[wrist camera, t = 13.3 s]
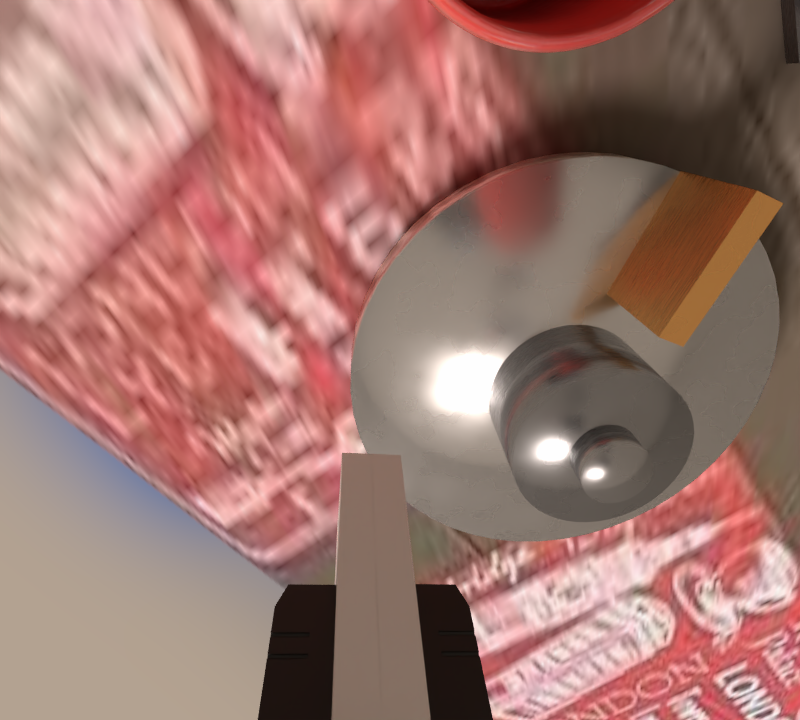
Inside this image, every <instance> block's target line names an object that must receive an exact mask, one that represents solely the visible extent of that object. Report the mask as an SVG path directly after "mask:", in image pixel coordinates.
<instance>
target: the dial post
mask: <svg viewBox="0 0 800 720" xmlns="http://www.w3.org/2000/svg"><path fill="white" fill-rule="evenodd" d="M781 8H782V19H783V30H784V42H785V53H786V63H800V0H781Z"/></svg>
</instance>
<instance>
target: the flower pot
mask: <svg viewBox="0 0 800 720" xmlns="http://www.w3.org/2000/svg"><path fill="white" fill-rule="evenodd" d="M673 1H675V0H428V2H429V3H430V4H431V5H432V6H433V7H435V8H436V9H437V10H438V11H439V12H440V13H441V14H442V15H444V16H445V17H446V18H447V19H449V20H450V21H451V22H453V23H454V24H456V25H457V26H459V27H460V28H462V29H463V30H465V31H467V32H469V33H471V34H472V35H474V36H476V37H478V38H481V39H483V40H485V41H487V42H490V43H492V44H496V45H499V46H502V47H505V48H509V49H513V50H519V51H525V52H537V53H550V52H563V51H569V50H575V49H580V48H584V47H588V46H592V45H595V44H598V43H601V42H603V41H606V40H609V39H612V38H614V37H617V36H619V35H621V34H623V33H625V32H627V31H629V30H631V29H632V28H634V27H636V26H638V25H640V24H641V23H643V22H645V21H646V20H648V19H649V18H651V17H652V16H654V15H655V14H657V13H659V12H660V11H661V10H663V9H664V8H665V7H667V6H668V5H669V4H671V3H672V2H673Z"/></svg>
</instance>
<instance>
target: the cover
mask: <svg viewBox="0 0 800 720" xmlns="http://www.w3.org/2000/svg"><path fill="white" fill-rule="evenodd" d="M489 412H490V416H491V420H492V423H493V425H494V428H495V430H496V433H497V435H498V438H499V440H500V443H501V446H502V448H503V451H504V453H505V456H506V458H507V461H508V463H509V466H510V468H511V471H512V473H513V476H514V478H515V481H516V483H517V486H518V488H519V490H520V492H521V493H522V495H523V496H524V497H525V499H526V500H527V501H528V502H529V503H530V504H531V505H532V506H534V507H535V508H536V509H538V510H539V511H541V512H543V513H545V514H547V515H549V516H551V517H554V518H557V519H561V520H565V521H572V522H596V521H602V520H608V519H612V518H615V517H619V516H622V515H625V514H627V513H630V512H632V511H634V510H636V509H638V508H640V507H642V506H644V505H645V504H647V503H649V502H650V501H652V500H653V499H654V498H656V497H657V496H658V495H660V494H661V493H662V492H663V491H664V490H665V489H666V488H668V487H669V485H670V484H671V483H672V482H673V481H674V480H675V479H676V477H677V476H678V475H679V473H680V472H681V470H682V469H683V467H684V465H685V463H686V462H687V460H688V457H689V455H690V452H691V449H692V445H693V439H694V422H693V418H692V414H691V412H690V409H689V407H688V405H687V403H686V402H685V400H684V399H683V398H682V396H681V395H680V394H679V393H678V392H677V391H676V390H675V389H674V388H673V387H672V386H671V385H669V384H668V383H667V382H666V381H665V380H664V379H663V378H662V377H661V376H660V375H659V374H658V373H657V372H656V371H655V370H654V369H653V368H652V367H651V366H650V365H649V364H648V363H646V362H645V361H644V360H643V359H642V358H641V357H640V356H639V355H638V354H637V353H636V352H635V351H634V350H633V349H632V348H631V347H630V346H629V345H628V344H627V343H626V342H624V341H623V340H622V339H621V338H620V337H618V336H617V335H615V334H614V333H612V332H610V331H608V330H605V329H602V328H599V327H595V326H589V325H566V326H561V327H556V328H553V329H550V330H546V331H544V332H542V333H539V334H537V335H535V336H533V337H532V338H530V339H528V340H527V341H525V342H524V343H522V344H521V345H520V346H518V347H517V348H516V349H515V350H514V351H513V352H512V353H511V354H510V355H509V356H508V357H507V358H506V360H505V361H504V362H503V363H502V365H501V366H500V368H499V369H498V371H497V373H496V375H495V377H494V379H493V382H492V385H491V389H490V394H489Z"/></svg>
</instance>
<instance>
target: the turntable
mask: <svg viewBox="0 0 800 720" xmlns="http://www.w3.org/2000/svg"><path fill="white" fill-rule="evenodd" d="M782 205H783V203H781V202H779V201H777V200H775V199H773V198H771V197H769V196H767V195H765V194H763V193H761V192H759V191H757V190H753V189H750V188H746V187H742V186H738V185H734V184H730V183H726V182H722V181H718V180H714V179H710V178H706V177H703V176H699V175H695V174H691V173H687V172H683V171H680V172H679V171H677V170H674V169H672V168H669V167H667V166H664V165H660V164H656V163H652V162H648V161H644V160H640V159H635V158H631V157H626V156H622V155H617V154H610V153H595V152H573V153H561V154H550V155H546V156H541V157H537V158H532V159H528V160H523V161H519V162H517V163H514V164H511V165H508V166H506V167H503V168H500V169H497V170H494V171H492V172H489V173H487V174H486V175H484V176H482V177H480V178H478V179H476V180H474V181H472V182H470V183H468V184H466V185H464V186H462V187H461V188H459V189H458V190H456V191H455V192H453V193H452V194H450V195H449V196H448V197H446V198H445V199H443V200H442V201H440V202H439V203H437V204H436V205H435V206H434V207H433V208H431V209H430V210H429V211H428V212H427V213H426V214H425V215H424V216H422V217H421V218H420V219H419V220H418V221H417V222H416V223H415V224H413V225H412V227H411V228H410V229H409V230H408V231H407V232H406V233H405V235H404V236H403V237H402V238H401V239H400V240H399V242H398V243H397V244H396V245H395V246H394V247H393V248H392V250H391V251H390V253H389V255H388V256H387V258H386V259H385V261H384V262H383V264H382V265H381V267H380V268H379V270H378V271H377V273H376V275H375V277H374V279H373V281H372V283H371V285H370V287H369V289H368V291H367V293H366V295H365V297H364V300H363V304H362V307H361V310H360V313H359V316H358V319H357V322H356V327H355V333H354V338H353V344H352V359H351V398H352V406H353V414H354V418H355V421H356V425H357V428H358V432H359V435H360V438H361V440H362V443H363V445H364V447H365V449H366V451H367V453H368V454H386V455H401V462H402V471H403V479H404V488H405V497H406V501H407V502H408V503H409V504H410V505H412V506H413V507H414V508H416V509H418V510H419V511H421V512H422V513H424V514H425V515H427V516H429V517H430V518H432V519H434V520H436V521H438V522H440V523H443V524H445V525H447V526H449V527H451V528H454V529H457V530H460V531H463V532H466V533H469V534H473V535H477V536H482V537H487V538H492V539H499V540H509V541H546V540H556V539H565V538H570V537H575V536H580V535H585V534H589V533H592V532H596V531H599V530H603V529H606V528H609V527H612V526H614V525H617V524H620V523H622V522H625V521H627V520H630V519H632V518H634V517H636V516H638V515H640V514H642V513H644V512H646V511H648V510H650V509H652V508H654V507H656V506H657V505H659V504H661V503H662V502H664V501H665V500H667V499H669V498H670V497H672V496H673V495H675V494H676V493H678V492H679V491H680V490H682V489H683V488H684V487H686V486H687V485H688V484H690V483H691V482H692V481H694V480H695V479H696V478H697V477H698V476H699V475H701V474H702V473H703V472H704V471H705V470H706V469H707V468H708V467H709V466H710V465H711V464H713V463H714V462H715V461H716V459H717V458H718V457H719V456H720V455H721V454H722V453H723V452H724V450H725V449H726V448H727V447H728V446H729V445H730V444H731V443H732V441H733V440H734V438H735V437H736V436H737V434H738V433H739V432H740V430H741V429H742V427H743V426H744V425H745V423H746V422H747V420H748V418H749V417H750V415H751V413H752V411H753V410H754V408H755V406H756V404H757V403H758V401H759V399H760V396H761V394H762V392H763V389H764V387H765V385H766V382H767V380H768V377H769V374H770V371H771V367H772V364H773V360H774V357H775V353H776V347H777V340H778V333H779V298H778V292H777V286H776V280H775V275H774V272H773V270H772V267H771V264H770V261H769V258H768V255H767V252H766V250H765V249H764V247H763V245H762V243H761V241H760V240H759V238H760V236H761V235H762V233H763V232H764V231H765V229H766V228H767V226H768V225H769V223H770V222H771V221H772V219H773V218H774V216H775V215H776V213H777V212H778V211H779V209H780V208H781V206H782ZM566 325H589V326H595V327H599V328H602V329H605V330H608V331H610V332H612V333H614V334H615V335H617V336H618V337H620V338H621V339H622V340H623V341H624V342H626V343H627V344H628V345H629V346H630V347H631V348H632V349H633V350H634V351H635V352H636V353H637V354H638V355H639V356H640V357H641V358H642V359H643V360H644V361H645V362H646V363H648V364H649V365H650V366H651V367H652V368H653V369H654V370H655V371H656V372H657V373H658V374H659V375H660V376H661V377H662V378H663V379H664V380H665V381H666V382H667V383H668V384H669V385H671V386H672V387H673V388H674V389H675V390H676V391H677V392H678V393H679V394H680V395H681V396H682V398H683V399H684V400H685V402H686V403H687V405H688V407H689V409H690V412H691V414H692V418H693V422H694V439H693V445H692V449H691V452H690V455H689V457H688V460H687V462H686V463H685V465H684V467H683V469H682V470H681V472H680V473H679V475H678V476H677V477H676V479H675V480H674V481H673V482H672V483H671V484H670V485H669V487H668V488H666V489H665V490H664V491H663V492H662V493H661V494H660V495H658V496H657V497H656V498H654V499H653V500H652V501H650V502H649V503H647V504H645V505H644V506H642V507H640V508H638V509H636V510H634V511H632V512H630V513H627V514H625V515H622V516H619V517H615V518H612V519H608V520H602V521H596V522H572V521H565V520H561V519H557V518H554V517H551V516H549V515H547V514H545V513H543V512H541V511H539V510H538V509H536V508H535V507H534V506H532V505H531V504H530V503H529V502H528V501H527V500H526V499H525V497H524V496H523V495H522V493H521V492H520V490H519V488H518V486H517V483H516V481H515V478H514V476H513V473H512V471H511V468H510V466H509V463H508V461H507V458H506V456H505V453H504V451H503V448H502V446H501V443H500V440H499V438H498V435H497V433H496V430H495V428H494V425H493V423H492V420H491V416H490V412H489V394H490V389H491V385H492V382H493V379H494V377H495V375H496V373H497V371H498V369H499V368H500V366H501V365H502V363H503V362H504V361H505V360H506V358H507V357H508V356H509V355H510V354H511V353H512V352H513V351H514V350H515V349H516V348H517V347H518V346H520V345H521V344H522V343H524V342H525V341H527V340H528V339H530V338H532V337H533V336H535V335H537V334H539V333H542V332H544V331H546V330H550V329H553V328H556V327H561V326H566Z"/></svg>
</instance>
